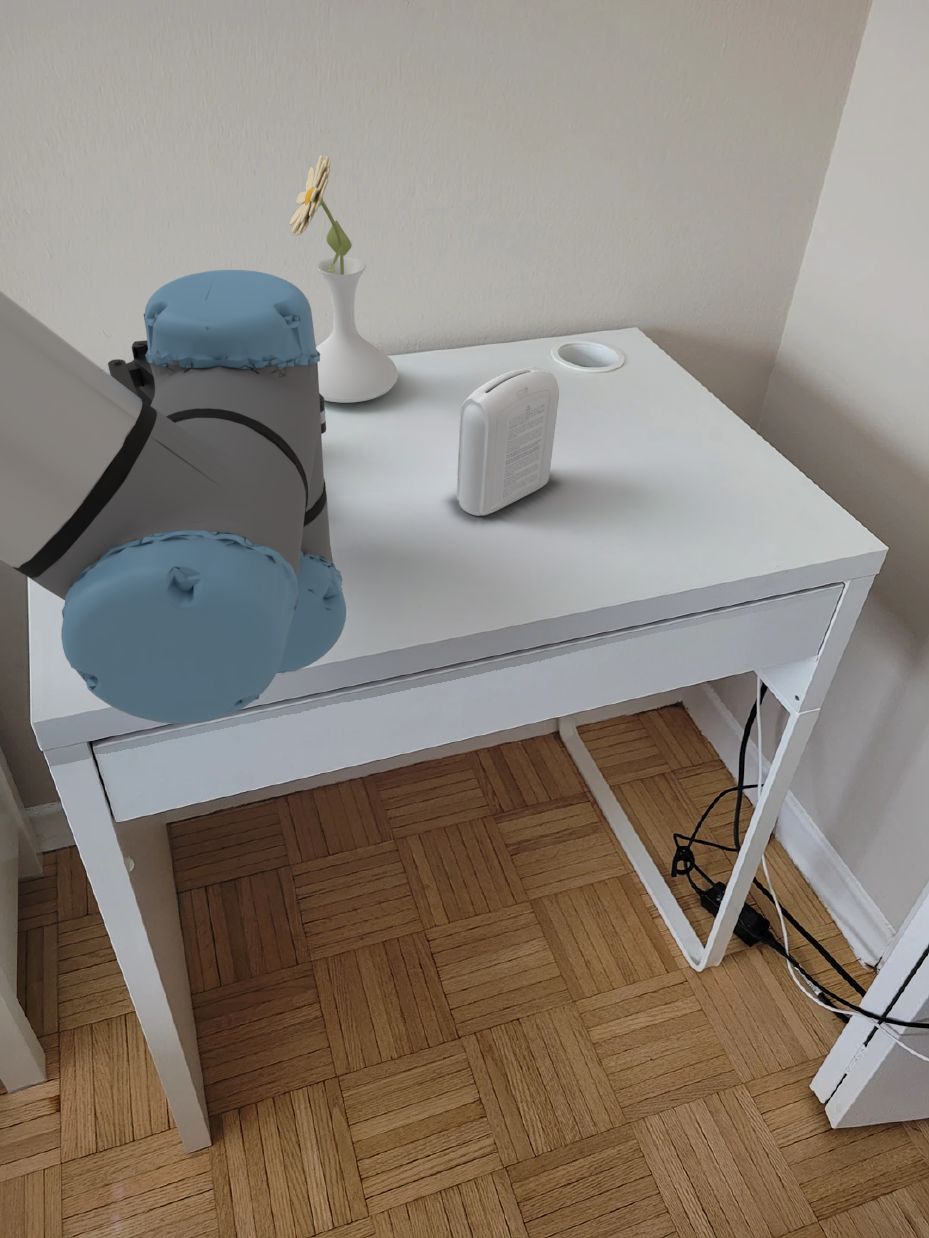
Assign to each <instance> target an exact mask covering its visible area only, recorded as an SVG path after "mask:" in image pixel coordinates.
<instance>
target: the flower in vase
mask: <svg viewBox="0 0 929 1238" xmlns="http://www.w3.org/2000/svg"><path fill="white" fill-rule="evenodd" d="M330 172H331V160H330V158H329V155H327V156H326V157H325V159H323V155H322V154H320V155H319V157H318V160H317V162H316V167H315V168H314V167H313V166H311V167H310V168H309V170H308V173H307V180H306V183H305V191H301V192H300V193H299V194H298V195H297V197H296V199H295V200H296V201H295V202H296V204H297V205H300V206H299V207H298V208H297V210H296V211H295V212H294V214H293V215H292V217H291V219H290V221H289V226H292V229H291V232H290V233H291V236H293V235H295V237H297V236H301V235H302V234H303V233H304V232H305V231H306V230H307V228H308V227H309V225H310V224H311V222H312V221H313V218H314V216H315V214H316V213H317V212H318V209H319V207H322V209H323V210H324V212H325V214H326V216H327V218H328V220H329V221H330V223H331V227H330V229H329V230H328V233H327V235H326V242H327V243H326V244H327V245H329V247H330V248H331V250H332V251H333V252H335V255H334V256H333V257H328V258H325V259H323V260H320V261H319V262H318V263H317V264H316V268H317V270H318V272H319V273H320V274H321V275H322V277H323V278H324V280H325V282H326V284H327V287H328V290H329V294H330V298H331V304H332V305H331V306H332V314H333V325H332V330H331V333H330V335H328V337H327V338H326V339H325V340H323V341H322V342H321V343H319V344H318V345H317V346H316V349H317V351H318V352H319V353H320V362H319V361H318V380H319V393H320V394H321V395H322V396H323V397H324V402H331V403H345V404H346V403H359V402H365V401H370V400H373V399H377V398H379V397H381V396H383V395H385V394H387V393H388V392H390V390H391V389H392V388H394V386H395V384H396V383H397V381H398V379H399V372H398V369H397V367H396V363H394V361H393V360H392V359H391V358H390V357H389V356H388V355H387V354H386V353H385V352H384V351H382V350H381V349H380V348H378V346H376V345H374V344H372V342H371V343H370V342H369V341H367V339H365V338H363V336H361V334H360V333H359V331H358V330H357V326H356V321H355V320H356V319H355V299H356V292H357V287H358V284H359V280H360V279H361V276H362V275H363V273H364V272H365V270H366V268H367V264H366V263H365V262H364V261H362V260H361V259H359V258H355V257H351V256H350V257H349V256H346V255H347V254H348V253H349V251H350V250H351V249H352V246H353V245H352V242H351V240H350V238H349V236H348V235H347V234H346V233H345V231H344V230H343V228H342V226H341V225H340V223H339V222H338V220H335V219H334V217H333V215H332V213H331V212H330V210H329V208H328V206H327V204H326V203H325V200H324V194H325V191H326V189H327V186H328V184H329V177H330Z"/></svg>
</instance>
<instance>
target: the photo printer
mask: <svg viewBox="0 0 929 1238" xmlns="http://www.w3.org/2000/svg"><path fill="white" fill-rule="evenodd" d="M559 399H560V389H559V384H558V380H557V378H556V377H555V375H554V373H553V372H551V371H547V370H545V369H544V368H543V367H535V366H534V367H533V366H532V367H523V368H517V369H513V370H511V371H508V372H505V373H502V374H500V375H498V376H496V377H494V378H492V379H490V380H489V381H487V382H485V383H484V384H482V385H481V386H479V387H478V388H476V389H475V390H474V391H473V392H471V394H470V395H468V397H466V399H465V400H464V401H463V403H462V404H461V408H460V413H459V414H460V417H459V433H458V434H459V435H458V451H457V452H458V453H457V454H458V455H457V456H458V457H457V473H456V500H457V501H458V502H459V506H460V508H461V509H462V510H463V511H464V512H465V513H468V514H470V515H473V516H477V517H479V516H487V515H490V514H492V513H494V512H495V513H496V512H497V511H499V510H501V509H503V508H504V507H507V506H509V505H510V504H513V503H514V502H516V501H518V500H521V499H522V498H524V497H526V496H528V495H530V494H533V493H534V492H536V491H538V490H539V489H541V488H543V487H545V485H546V484H548V482H549V479H550V475H551V467H552V457H553V449H554V448H553V447H554V441H555V433H556V432H555V431H556V425H557V424H556V423H557V418H558V417H557V416H558V406H559Z"/></svg>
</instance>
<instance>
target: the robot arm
mask: <svg viewBox="0 0 929 1238" xmlns="http://www.w3.org/2000/svg"><path fill="white" fill-rule="evenodd" d="M311 307H312V306H311V304H310V302H309V299H308V298H307V296H306V295H305V294H304V293H303V291H302V289H300V288H299V287H297V285H295V284H293V283H292V282H290V281H288V280H287V279H283V278H282V277H279V276H276V275H274V274H270V273H267V272H262V271H255V270H247V269H217V270H208V271H202V272H201V271H200V272H196V273H192V274H187V275H184V276H181V277H178V278H176V279H173V280H171V281H168V282H167V283H165V284H164V285H162V286H161V287H159V288H158V289H157V290H156V291H154V292H153V294H152V295H151V296H150V297H149V299H148V301H147V303H146V305H145V308H144V313H143V318H144V325H145V333H146V340H136V341H135V340H134V342H133V343H132V345H131V352H132V357H133V360H131V361H130V362H126V361H125V360H124V359H120V358H119V359H118V358H117V359H111V360H109V362H107V365H108V371H109V372H107V371H105V370H104V369H102V367H100V366H99V365H98V364H97V363H95V362H94V361H93V360H92V359H90V358H89V357H87V356H86V355H85V354H83V352H81V351H80V350H78V349H77V348H75V347H74V346H73V345H72V344H70V343H69V342H67V341H66V339H64V338H62V337H61V336H60V335H59V334H57V333H56V332H55V331H54V330H52V329H51V328H49V327H48V326H47V325H46V324H45V323H43V322H42V321H41V320H39V319H38V318H36V317H35V316H34V315H33V314H31V313H30V312H28V311H27V310H26V309H25V308H23V306H21V305H20V304H18V303H17V302H16V301H14V300H13V299H12V298H10V297H9V296H8V295H7V294H5V293H4V292H2V291H1V290H0V561H2V562H3V563H5V564H7V565H8V566H10V567H12V568H13V569H14V570H15V571H18V572H19V573H20V574H23V575H24V576H26V577H27V578H29V579H30V580H31V581H33V582H35V583H36V584H38V585H39V586H41V587H42V588H43V589H45V590H46V591H49V592H50V593H51V594H54V595H55V596H57V597H58V598H60V599H62V600H64V606H63V608H62V610H61V614H62V615H61V616H62V623H61V632H60V633H61V644H62V645H61V646H62V650H63V653H64V655H65V658H66V660H67V661H68V663H69V665H70V668H72V669H73V670H75V671H76V672H77V674H78V675H79V676H80V677H81V679H82V680H83V681H84V682H85V684H86V687H87V689H88V691H90V692H91V693H92V695H94V696H95V697H97V698H98V699H99V700H100V701H102V702H104V703H106V704H107V705H109V706H110V707H112V708H113V709H116V710H117V711H120V712H122V713H124V714H127V715H130V716H133V717H136V718H139V719H144V720H148V721H152V722H156V723H162V724H174V725H187V724H198V723H205V722H211V721H215V720H219V719H223V718H225V717H227V716H230V715H233V714H235V713H236V712H238V711H240V710H242V709H244V708H246V707H247V706H248V705H250V704H251V703H253V702H254V701H256V700H259V698H260V696H261V695H262V694H264V692H265V691H266V690H267V689H268V687H269V686H270V685H271V683H272V682H273V681H274V679H275V677H276V675H278V674H285V673H288V672H289V673H290V672H297V671H299V670H302V669H304V668H307V667H308V666H310V665H312V664H314V663H316V662H317V661H319V660H321V658H323V657H324V656H325V655H327V654H328V652H330V651H331V650H332V648H333V647H334V646H335V645H336V643H337V642H338V640H339V639H340V637H341V635H342V633H343V631H344V627H345V624H346V620H347V604H346V599H345V597H344V592H343V588H342V586H343V577H342V573H341V571H340V570H338V569H337V566H336V565H335V563H334V559H333V553H332V548H331V538H330V537H331V536H330V524H329V523H330V522H329V509H328V508H329V507H328V495H327V489H326V487H327V486H326V481H325V475H324V459H323V458H324V457H323V443H322V442H323V440H322V434H325V433H326V432H327V420H326V419H327V418H326V405H325V400H324V397H323V396H322V395H321V394H320V393H319V380H318V361H319V362H320V353H319V352H318V351H317V349H316V347H317V346H316V345H317V344H316V337H315V336H316V335H315V329H314V320H313V314H312V313H313V312H312V308H311ZM137 387H140V389H141V390H142V391H143V392H144V393H145V394H146V395H147V396H148V397H149V398H150V399H151V400H152V404H151V406H150V405H149V404H147V403H146V402H145V401H143V400H142V399H140V398H139V397H138V394H137V391H136V389H135V388H137Z"/></svg>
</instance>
